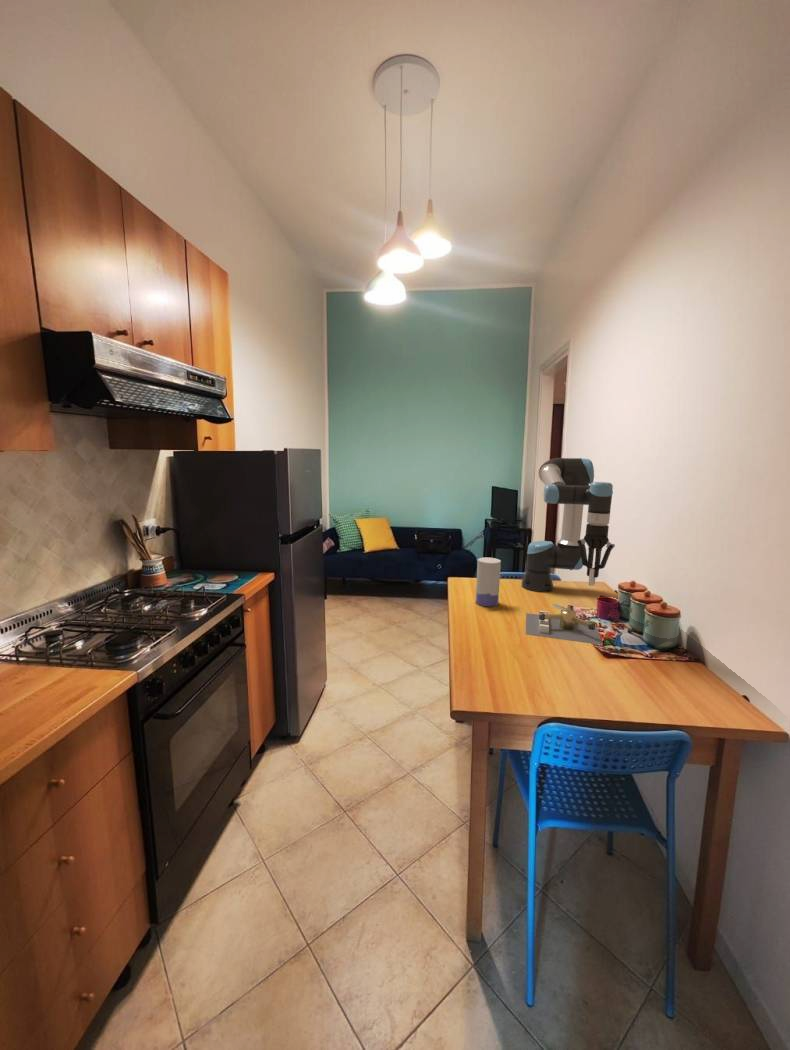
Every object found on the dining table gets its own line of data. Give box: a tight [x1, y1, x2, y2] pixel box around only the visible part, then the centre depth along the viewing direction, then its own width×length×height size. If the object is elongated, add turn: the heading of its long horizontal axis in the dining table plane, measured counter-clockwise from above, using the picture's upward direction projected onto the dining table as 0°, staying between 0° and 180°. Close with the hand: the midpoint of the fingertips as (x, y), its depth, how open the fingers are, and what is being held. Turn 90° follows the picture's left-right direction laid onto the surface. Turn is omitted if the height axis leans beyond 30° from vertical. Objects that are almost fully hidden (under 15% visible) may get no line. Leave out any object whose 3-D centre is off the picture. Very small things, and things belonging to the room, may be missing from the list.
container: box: [475, 556, 502, 608], centre depth 190 cm, size 10×10×20 cm
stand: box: [525, 610, 604, 646], centre depth 163 cm, size 22×26×4 cm
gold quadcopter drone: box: [538, 603, 596, 630], centre depth 161 cm, size 20×18×7 cm
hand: (591, 584), depth 162 cm, fingers closed
